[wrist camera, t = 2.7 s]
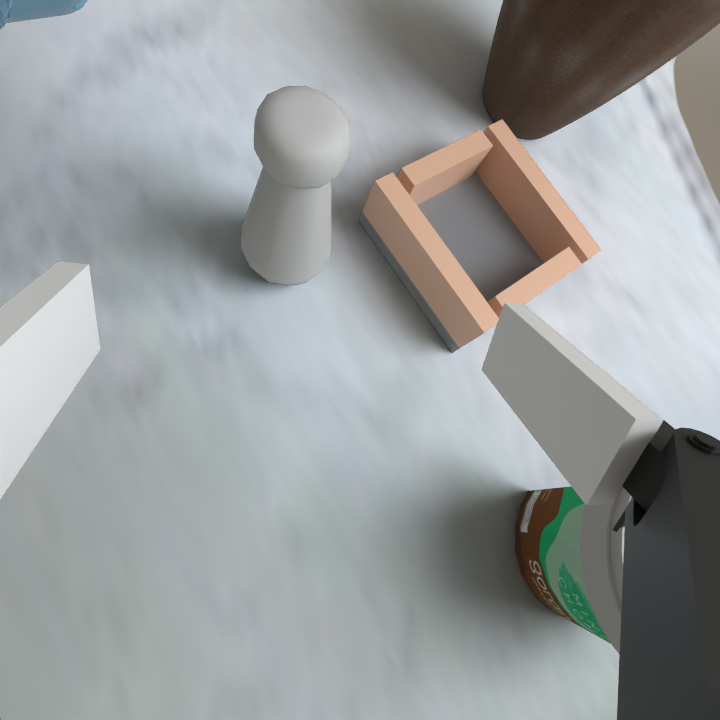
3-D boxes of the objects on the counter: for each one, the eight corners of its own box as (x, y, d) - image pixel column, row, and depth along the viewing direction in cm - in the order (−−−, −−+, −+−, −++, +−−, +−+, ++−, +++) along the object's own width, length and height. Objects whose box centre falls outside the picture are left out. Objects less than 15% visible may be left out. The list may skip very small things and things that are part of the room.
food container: (461, 545, 29) (563, 577, 19) (514, 475, 31) (630, 473, 22) (595, 684, 29) (764, 784, 19) (639, 604, 31) (812, 659, 21)
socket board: (358, 220, 33) (375, 180, 29) (472, 161, 37) (502, 119, 33) (452, 352, 32) (484, 332, 28) (558, 277, 36) (601, 250, 32)
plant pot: (594, 73, 44) (775, -140, 29) (590, 199, 39) (802, 26, 24) (454, 16, 41) (572, -250, 26) (433, 145, 37) (562, -86, 22)
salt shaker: (315, 218, 32) (356, 60, 20) (333, 290, 31) (389, 170, 19) (233, 226, 31) (223, 58, 18) (249, 303, 30) (250, 179, 17)
